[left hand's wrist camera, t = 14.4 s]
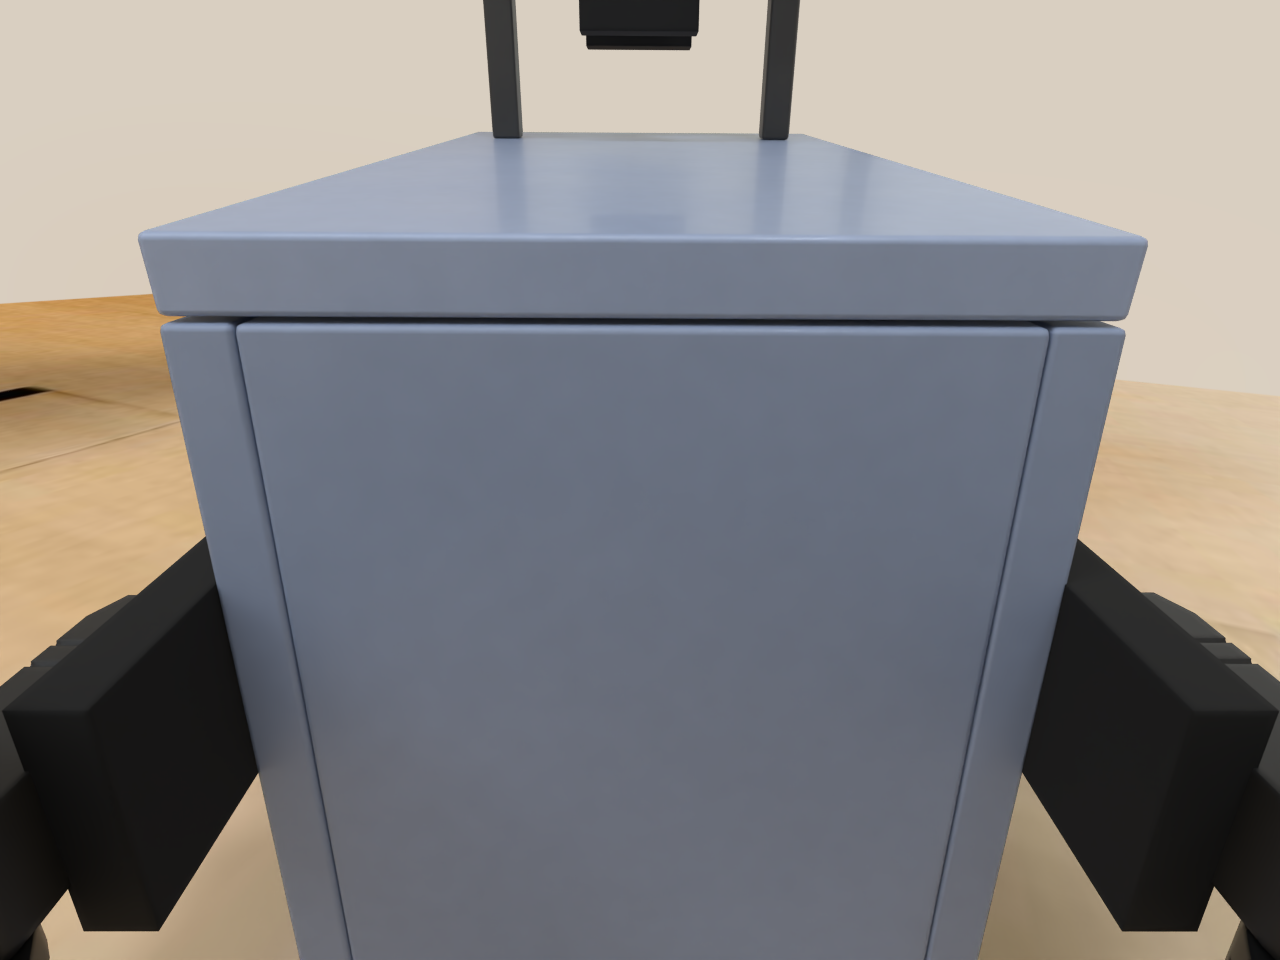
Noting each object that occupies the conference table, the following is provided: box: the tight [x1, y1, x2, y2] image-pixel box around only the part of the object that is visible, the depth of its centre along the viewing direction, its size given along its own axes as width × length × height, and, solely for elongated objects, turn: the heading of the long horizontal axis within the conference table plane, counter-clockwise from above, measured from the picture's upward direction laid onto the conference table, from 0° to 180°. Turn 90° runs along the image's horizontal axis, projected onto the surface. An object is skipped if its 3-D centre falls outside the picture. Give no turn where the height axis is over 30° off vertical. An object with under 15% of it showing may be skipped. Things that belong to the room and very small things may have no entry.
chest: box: [161, 316, 1125, 960], centre depth 18 cm, size 17×10×11 cm, turn 0°
